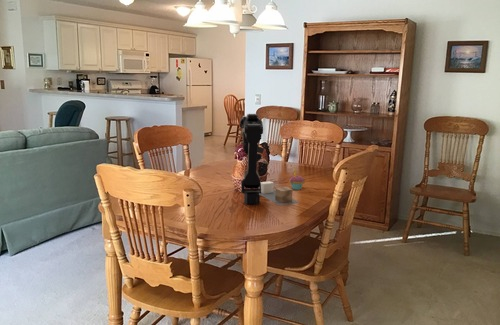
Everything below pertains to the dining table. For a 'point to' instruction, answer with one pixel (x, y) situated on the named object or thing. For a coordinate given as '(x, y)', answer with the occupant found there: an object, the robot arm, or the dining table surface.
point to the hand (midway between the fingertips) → (248, 170)
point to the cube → (283, 194)
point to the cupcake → (296, 181)
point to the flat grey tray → (271, 193)
